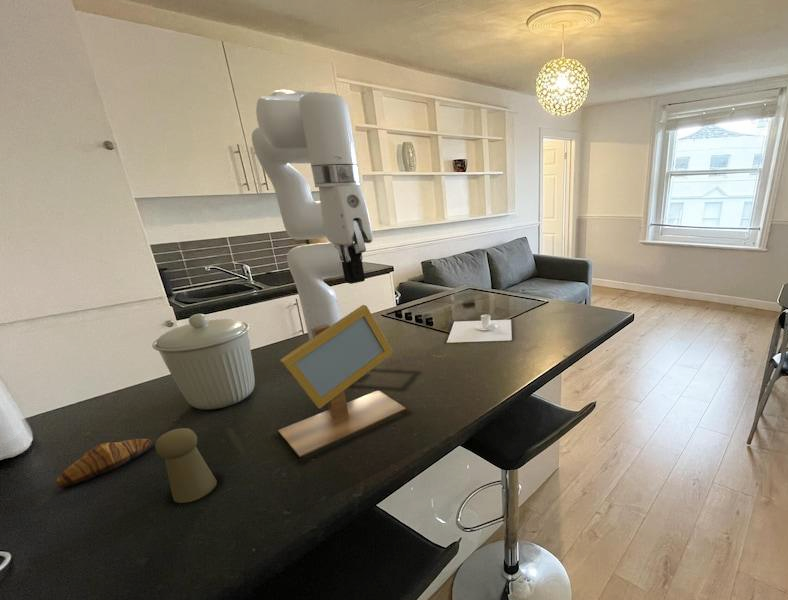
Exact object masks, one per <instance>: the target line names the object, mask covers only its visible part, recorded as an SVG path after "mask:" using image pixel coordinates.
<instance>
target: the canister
mask: <svg viewBox="0 0 788 600" xmlns="http://www.w3.org/2000/svg"><path fill="white" fill-rule="evenodd" d="M250 328H251V326H250V324H249V323H247V322H244V321H240V320H237V319H232V318H219V319H218V318H216V319H211V320H210V319H209V317H208V316H207V315H205V314H203V313H195V314H192V315H191V316H190V317H189V318H188V324H185V325H181V326H177V327H175V328H172V329H170V330H167V331H166V332H165V333H163V334H161V335H160V336H159V337H158V338H157V339H156V340H154V341H153V342H152V344H151V347H152V348H153V349H154V350H155V351H158V352H159V354H160V356H161V358H162V360H163V362H164V364H165V365H166V367H167V369H168V371H169V373H170V375H171V377H172V379H173V380H174V382H175V384H176V386H177V387H178V389H179V390H180V392H181V394H182V396H183V397H184V399H185V401H186V402H187V403H188V404H189V405H190V406H191V407H193V408H195V409H197V410H202V411H204V410H206V411H209V410H218V409H222V408H226V407H229V406H232V405H235V404H238V403H239V402H242V401H243V400H245V399H246V398H248V397H249V396H250V395H251V394H252V392H253V391H254V389H255V385H256V383H255V380H256V379H255V371H254V363H253V362H254V361H253V355H252V349H251V344H250V338H249V331H250Z"/></svg>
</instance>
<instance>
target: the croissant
mask: <svg viewBox="0 0 788 600" xmlns="http://www.w3.org/2000/svg"><path fill="white" fill-rule="evenodd" d="M152 447H153V442H152V440H151V439H150V438H133V439H126V440H121V441H117V442H105V443H100V444H98V445H96V446H94V447H93V448H90V449H89V450H87V451H85V453H84V454H83V455H82V456H81V457H80V458H79V459H77V460H75V461H74V462H73V463H72V464H71V465H69V466H68V467H67V468H65V469H64V470H63V471H62V472H61V473H60V475H58V477H57V478H56V486H58V487H59V488H61V489H64V488H68V487H71V486H75V485H78V484H82V483H83V482H86V481H89V480H91V479H94V478H96V477H99V476H101V475H103V474H107V473H109V472H111V471H113V470H116V469H118V468H119V467H121V466H123V465H125V464H127V463H128V462H130V461H132V460H134V459H136V458H137V457H140V456H141V455H143V454H144V453H146V452H147V451H149V450H150V449H151V448H152Z"/></svg>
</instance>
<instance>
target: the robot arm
mask: <svg viewBox="0 0 788 600" xmlns="http://www.w3.org/2000/svg"><path fill="white" fill-rule="evenodd" d="M255 107H256V109H255V110H256V111H255V114H256V121H257V125H258V127H256V128H255V129H253V130H252V132H251V133H252V134H251V142H252V147H253V150H254V153H255V156H256V158H257V160H258V163H259V164H260V166H261V168H262V170H263V171H264V173H265V174H266V177H268V179H269V181H270V183H271V185H272V186H273V189H274V192H275V196H276V200H277V205H278V208H279V211H280V215H281V219H282V223H283V226H284V229H285V232H286V233H287V235H288V237H290V238H291V239H293V240H296V241H303V240H315V239H326V240H328V242H318V243H310V244H302V245H297V246H295V247H293V248H291V249H289V251H288V252H287V254H286V262H287V266H288V269H289V271H290V274H291V276H292V279H293V281H294V284H295V287H296V290H297V293H298V297H299V302H300V305H301V306H300V307H301V310H302V315H303V319H304V323H305V327H306V332H307V337H308V341H309V340H311V339H312V338H313V335H312V331H311V328H314V327H317V326H321V325H325V324H327V325H329V326H332V325H333V324H335V323H336V322H338V321H339V320H341V319H342V316H341V312H340V305H339V302H338V296H337V293H336V292H335V290H334V289H333V288H332V287H331V286H330V285H329V284H327V283H326V282H324V280H327V279H331V278H337V277H344V282H345V283H347V284H350V285H352V284H357V283H362V282H365V280H366V277H365V272H364V265H363V253H365V252H366V251H367V247H366V244H371V243H373V241H374V235H373V229H372V223H371V220H370V214H369V211H368V206H367V202H366V198H365V195H364V191H363V188H362V184H361V183H362V182H361V178H360V177H361V176H360V171H359V165H358V158H357V153H356V145H355V141H354V140H355V139H354V134H353V128H352V122H351V115H350V109H349V104H348V102H347V101H346V100H345V98H344V97H342V96H341V95H339V94H335V93H330V92H317V91H305V90H291V89H277V90H274V91H272V92H270V93H269V94H268V95H264V96H260V97H259V98H258V99H257V101H256V106H255ZM291 164H310V166H311V167H310V168H311V173H312V179H313V183H314V188H318V193H319V201H318V200H317V201H315V199H314V198H313V194H312V190H311V186H310V183H309V181H308V180H307V179H306V177H305V176H304V175H303V174H302V173H301V172H300V171H298V169H296V168H295V167H294V166H292V165H291Z"/></svg>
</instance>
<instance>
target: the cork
mask: <svg viewBox="0 0 788 600" xmlns="http://www.w3.org/2000/svg"><path fill="white" fill-rule="evenodd" d="M197 444H198V436H197V434H196V433H195V432H194V430H193V429H190V428H186V427H185V428H184V427H183V428H182V427H181V428H176V429H171V430H169V431H166V432H165V433H163V434H162V435H160V436H159V437H158V438H157V439H156V442H155V444H154V446H155V447H154V448H155V451H156V453H157V454H158V455H159V457H161V458H164V463H165V467H166V472H167V477H168V482H169V486H170V491H171V495H172V500H173V501H174V502H176V503H178V504H185V503H191V502H194V501H198V500H199V499H201V498H203V497H205V496H206V495H208V494H209V493H211V492H212V491H213V490H214V489H215V488H216V486H217V484H218V483H217V482H218V481H217V479H216V477H215V475H214V474H213V472H212V471H211V469H210V467H209V466H208V464H207V463H206V461H205V459H204V458H203V456H202V454H201V452H200V451H199V450H198V448H197Z"/></svg>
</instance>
